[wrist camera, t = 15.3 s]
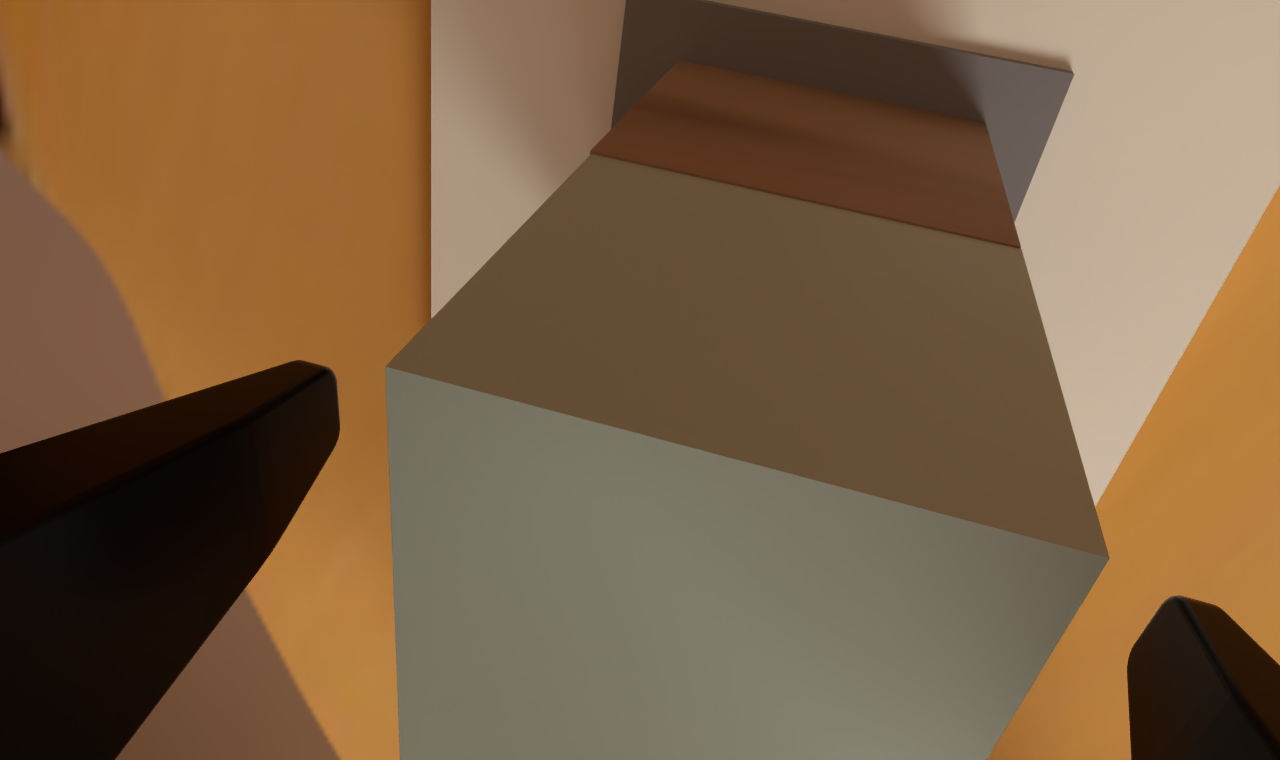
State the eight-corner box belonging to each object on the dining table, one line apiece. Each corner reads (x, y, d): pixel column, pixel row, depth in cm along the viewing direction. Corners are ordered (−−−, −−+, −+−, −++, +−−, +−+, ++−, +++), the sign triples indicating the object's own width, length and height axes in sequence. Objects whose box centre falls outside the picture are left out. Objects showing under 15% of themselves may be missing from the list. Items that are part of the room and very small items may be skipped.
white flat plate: (1051, 539, 19) (1059, 578, 18) (449, 379, 21) (427, 407, 20) (1391, -77, 12) (1433, -69, 11) (458, -231, 14) (424, -235, 13)
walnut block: (892, 382, 17) (888, 563, 12) (638, 319, 17) (556, 472, 13) (985, 123, 14) (1021, 246, 10) (679, 59, 14) (590, 150, 10)
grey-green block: (889, 565, 12) (882, 928, 8) (557, 474, 13) (399, 768, 9) (1021, 248, 10) (1108, 559, 6) (590, 153, 10) (384, 367, 6)
